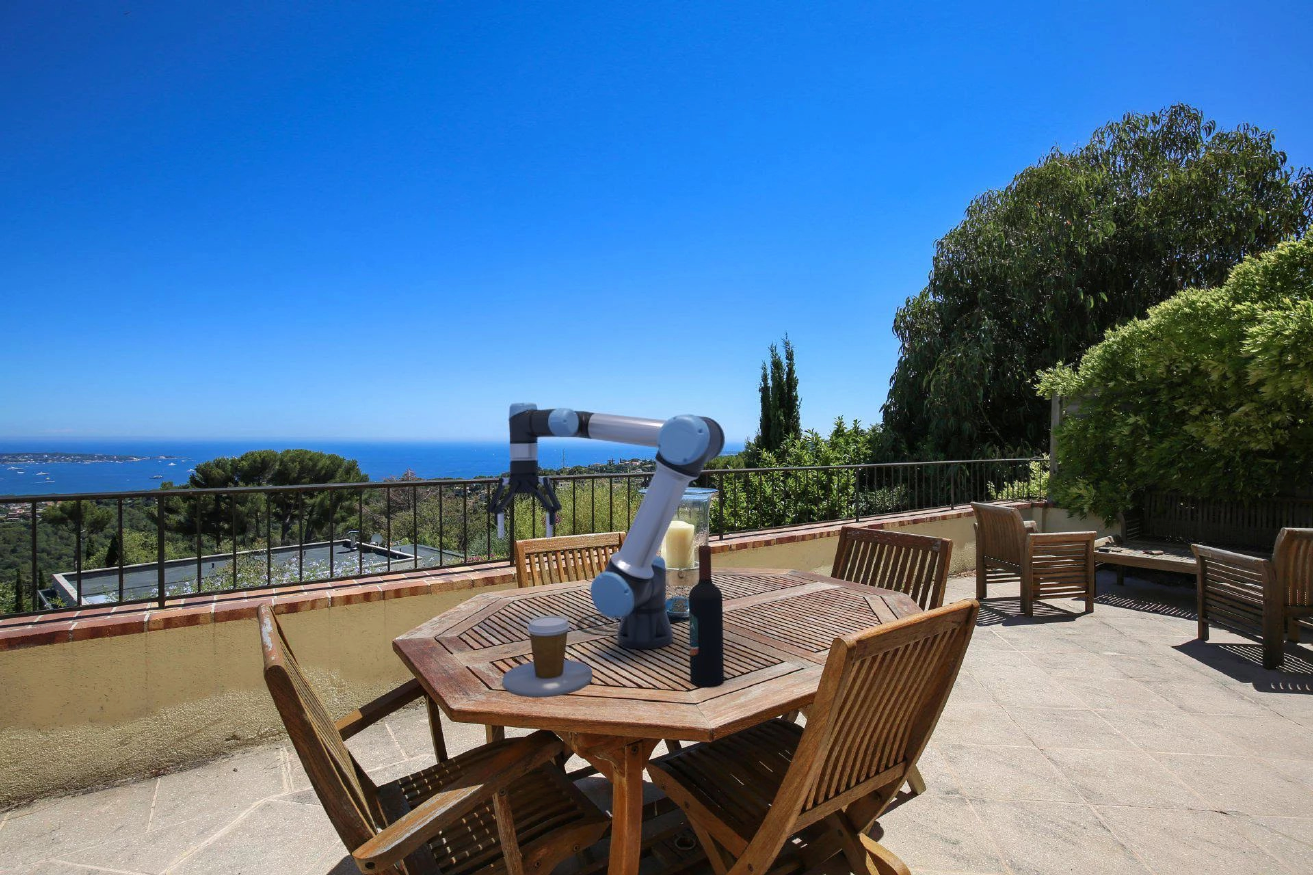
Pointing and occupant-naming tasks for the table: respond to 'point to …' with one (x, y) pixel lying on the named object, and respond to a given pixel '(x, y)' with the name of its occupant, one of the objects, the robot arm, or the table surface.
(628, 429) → the robot arm
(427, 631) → the table surface
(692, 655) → the wine bottle
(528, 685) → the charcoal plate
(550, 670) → the disposable coffee cup
